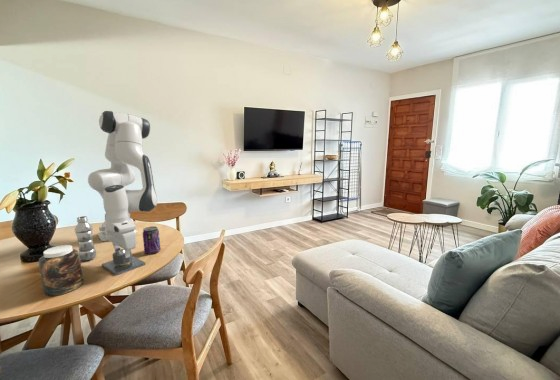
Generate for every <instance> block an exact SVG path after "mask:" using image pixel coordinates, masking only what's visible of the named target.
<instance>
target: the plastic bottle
mask: <svg viewBox="0 0 560 380" xmlns="http://www.w3.org/2000/svg"><path fill="white" fill-rule="evenodd" d="M88 221H89V220H88V216H85V215H84V216H83V215H82V216H78V217H77V218H76V222H77V224H76V226H75V227H74V232H75V236H76V239H77V242H78V253H79V257H80V261H84V262H85V261H90V260H94V259H95V258H96V256H97V251H96V248H95V245H94V241H93V226H92V225H91V223H89V222H88Z"/></svg>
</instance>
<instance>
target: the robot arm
mask: <svg viewBox="0 0 560 380" xmlns="http://www.w3.org/2000/svg"><path fill="white" fill-rule="evenodd" d="M98 125H99V127H100V129H101V130H102V132H104V133H106V134H108V135H107V138H106V139H107V140H106V145H105V146H106V147H105V151H104V157H105V159H106V160H108V162H110V165H111V166H110V168H103V169H98V170H94V171H92V172H90V173H89V174H88V177H87V182H88V184H89V185H88V186H89V187H90V188H91V189H93V190H95V191H96V192H98V194H99V195H100V197H101V198H102V201H103V202H102V203H103V209H104V211H105V214H104V222H103V223H101V226H99V229H98V230H99V232H97V236H98V237H99V240H100V241H101V242H107V241H108V242H110V243H112V246H113V248H114V253H115V252H116V251H119V250H121V248H122V249H124V251H125V253H124V257H126V258H128V257H130V251H131V250H134V249H136V247H137V237H136V234H137V233H138V232H139V231H138V229H137V228H136V227H137V226H136V224H135V223H134V219H133V218H131V212H145V213H147V212H149V213H150V212H151V211H153V210H154V209H155V208H156V207H157V205H158V198H157V193H156V189H155V184H154V176H153V170H152V165H151V162H150V158H149V157H148V156H147V155H145V154H144V151H143V139H146V138H148V137H149V135H150V134H151V133H150V132H151V124H150V122H149V120H148V119H147V118H146V119H145V118H143V117H139V116H135V115H132V114H128V113H121V112H116V111H115V112H114V111H112V110H105V111H103V112H101V115H100V116H99V119H98ZM131 166H132V167H135V168H136V169H138V170H139V172H140V177H141V184H142V188H141V189H126V188H125V187H127V186H129V185H132V184H133V183H134V182H135V180H136V172H135V171H134V169H133V168H132V167H131ZM131 252H132V251H131Z"/></svg>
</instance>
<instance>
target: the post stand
mask: <svg viewBox="0 0 560 380" xmlns="http://www.w3.org/2000/svg"><path fill="white" fill-rule="evenodd" d="M124 253H125V251H124V249H123V248H122V249H121V248H120V250H119V255H122V254H124ZM131 256H132V260H131V261H130V262H128V263H125V264H120V265H116V264H114V262H113V259H112V260H110V261H107V262H103V263H101V267H102V268H104V269H106V270H107V271H108V272H109V273H111V274H113V275H114V276H119V275H122V274H124V273H127V272H129V271H132V270H134V269H137V268H140V267H143V266H145V265H146V262H145V261H143V260H141V259H140V258H138V257H136V256H134V255H133V254H131Z"/></svg>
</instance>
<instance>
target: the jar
mask: <svg viewBox="0 0 560 380" xmlns="http://www.w3.org/2000/svg"><path fill="white" fill-rule="evenodd" d="M38 266H39V272H40V279H41V285H42V289H43V295H45V296H47V295H48V297H54V296H55V297H56V296H62V295H65V294H69V293H70V292H73V291H75V290H77V289H79V288H80V287H81V286H82V285H84V284H83V283H84V276H83V270H82V264H81V259H80V257H79V250H78V249H75V248H73V245H71V244H61V245H55V246H53V247H48V248H47V249H45V250H44V251H43V255H42V256H41V257H40V258H39V259H38Z"/></svg>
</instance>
